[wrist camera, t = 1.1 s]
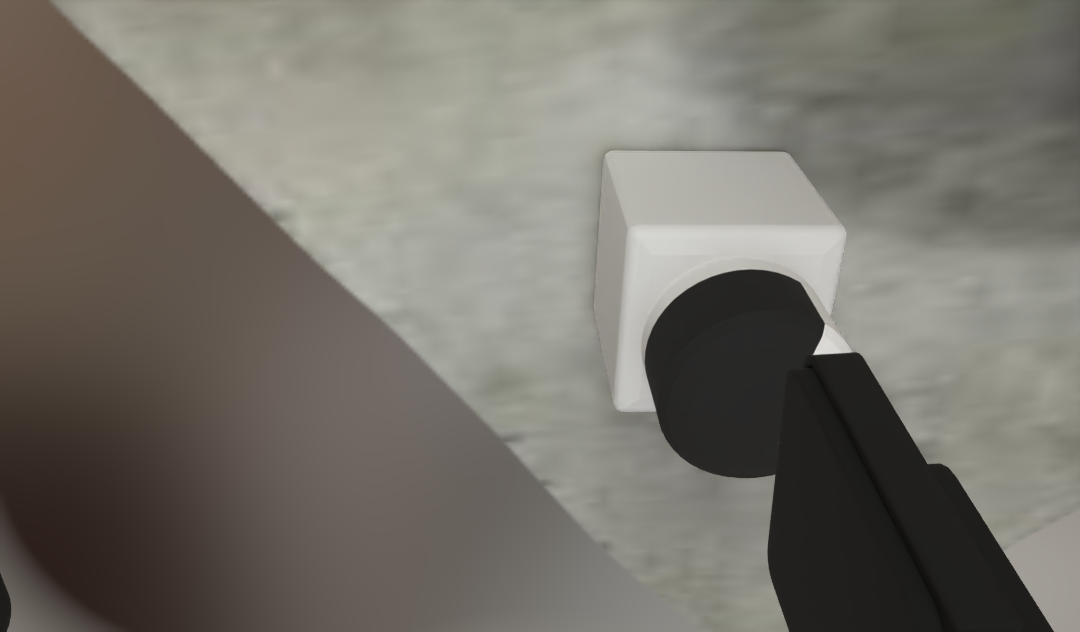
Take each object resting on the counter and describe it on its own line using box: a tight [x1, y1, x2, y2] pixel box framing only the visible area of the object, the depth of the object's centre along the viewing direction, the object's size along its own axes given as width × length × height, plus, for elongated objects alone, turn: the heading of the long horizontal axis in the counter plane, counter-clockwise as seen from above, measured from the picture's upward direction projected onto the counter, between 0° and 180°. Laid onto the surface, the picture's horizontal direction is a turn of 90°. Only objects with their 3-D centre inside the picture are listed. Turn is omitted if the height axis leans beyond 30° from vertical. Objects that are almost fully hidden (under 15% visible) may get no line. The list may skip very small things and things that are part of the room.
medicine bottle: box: [593, 150, 852, 478], centre depth 35 cm, size 7×7×12 cm
